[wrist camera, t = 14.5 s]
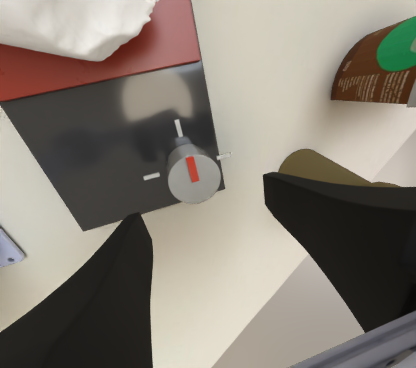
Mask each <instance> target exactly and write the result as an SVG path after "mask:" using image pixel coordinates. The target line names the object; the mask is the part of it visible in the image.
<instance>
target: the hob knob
mask: <svg viewBox="0 0 416 368" xmlns="http://www.w3.org/2000/svg"><path fill="white" fill-rule="evenodd" d="M166 169H167V177H168V185H169V189H170V191H171V193H172V194H173V195H174V196H175V197H176V198H177V199H178V200H180V201H182V202H185V203H189V204H196V203H201V202H204V201H206V200H208V199H209V198H211V197H212V196H213V195H214V194H215V192H216V191H217V189H218V187H219V185H220V181H221V174H220V170H219V167H218V166H217V164H216V163H215V162H214V161H213V159H212V158H211V157H210V156H209V155H208V154H207V153H206V152H205V150H203V149H202V148H201V147H199V146H197V145H193V144H185V145H181V146H179V147H177V148H175V149H174V150H173V151H172V152H171V153H170V155H169V157H168V159H167V163H166Z"/></svg>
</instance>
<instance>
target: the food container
mask: <svg viewBox="0 0 416 368" xmlns="http://www.w3.org/2000/svg"><path fill="white" fill-rule="evenodd" d="M331 100H342V101H360V102H378V103H396V104H407V107H416V16H415V17H412V18H410V19H407V20H404V21H402V22H399V23H397V24H394V25H391V26H389V27H386V28H384V29H381V30H378V31H376V32H373V33H371V34H369V35H367V36H365V37H364V38H362V39H361V40H360V41H359V42H358V43H356V44H355V45H354V47H353V48H352V49H351V50H350V51H349V53H348V54H347V55H346V57H345V58H344V60H343V62H342V63H341V65H340V67H339V69H338V72H337V74H336V77H335V80H334V83H333V88H332V94H331Z"/></svg>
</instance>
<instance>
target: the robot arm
mask: <svg viewBox="0 0 416 368" xmlns="http://www.w3.org/2000/svg"><path fill="white" fill-rule="evenodd" d="M263 183H264V197H265V205H266V206H267V208H268V209H269V210H270V212H271V213H272V214H273V216H274V217H275V218H276V219H277V220H278V221H279V222H280V223H281V224H282V225H283V227H284V228H285V229H286V230H287V231H288V232H289V233H290V234H291V235H292V236H293V237H294V238H295V239H296V240H297V241H298V242H299V243H300V244H301V245H302V246H303V247H304V248H305V250H306V251H307V252H308V253H309V254H310V256H311V257H312V258H313V259H314V261H315V262H316V263H317V264H318V266H319V267H320V268H321V270H322V271H323V272H324V273H325V275H326V276H327V278H328V279H329V280H330V282H331V283H332V285H333V286H334V287H335V289H336V290H337V292H338V293H339V294H340V296H341V297H342V299H343V300H344V301H345V303H346V304H347V306H348V307H349V309H350V310H351V312H352V313H353V315H354V317H355V318H356V319H357V321H358V323H359V324H360V326H361V327H362V328H363V330H364V332H365V334H363V335H360V336H358V337H356V338H353V339H351V340H349V341H347V342H345V343H342V344H340V345H338V346H336V347H333V348H331V349H329V350H326V351H324V352H322V353H320V354H317V355H316V356H313V357H311V358H308V359H306V360H304V361H302V362H299V363H297V364H295V365H293V366H290V367H288V368H391V367H392V368H416V187H372V186H355V185H346V184H337V183H329V182H323V181H317V180H312V179H307V178H302V177H298V176H293V175H288V174H283V173H278V172H271V173H267V174H264V175H263ZM24 257H25V255H24V253H23V252H22V251H21V250H20V249H19V248H18V247H17V246H16V245H15V244H14V242H13V241H12V240H11V239H10V238H9V237H8V236H7V235H6V234H5V233H4V231H3V230H2V229H1V228H0V267H4V266H7V265H10V264H13V263H17V262H20V261H22V260H23V259H24ZM12 258H13V259H12ZM152 269H153V245H152V239H151V237H150V234H149V232H148V230H147V228H146V225H145V223H144V221H143V219H142V217H141V214H140V212H137V213H133V214H130V215H127V216H126V218H125V219H124V220H123V221H122V222H121V223H120V225H119V226H118V227H117V228H116V229H115V231H114V232H113V233H112V234H111V235H110V237H109V238H108V239H107V240H106V241H105V242H104V244H103V245H102V246H101V247H100V248H99V249H98V250H97V251H96V252H95V253H94V255H93V256H92V257H91V258H90V259H89V260H88V261H87V262H86V263H85V264H84V265H83V266H82V267H81V268H80V269H79V270H78V271H77V272H76V273H74V274H73V275H72V276H71V277H70V278H69V279H68V280H67V281H66V282H64V283H63V284H62V285H61V286H60V287H58V288H57V289H56V290H55V291H54V292H53V293H51V294H50V295H49V296H48V297H47V298H45V299H44V300H43V301H42V302H40V303H39V304H38V305H37V306H35V307H34V308H33V309H31V310H30V311H29V312H28V313H26V314H25V315H24V316H22V317H21V318H20V319H18V320H17V321H15V322H14V323H13V324H11V325H10V326H9V327H7V328H6V329H5V330H3V331H2V332H0V368H153V362H152V344H151V320H150V296H151V283H152ZM395 365H396V366H395ZM393 366H394V367H393Z"/></svg>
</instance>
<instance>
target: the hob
mask: <svg viewBox="0 0 416 368" xmlns="http://www.w3.org/2000/svg"><path fill="white" fill-rule="evenodd" d="M190 2H191V0H190ZM191 7H192V2H191ZM192 13H193V8H192ZM193 18H194V13H193ZM194 24H195V19H194ZM195 29H196V25H195ZM196 35H197V30H196ZM197 40H198V36H197ZM198 46H199V41H198ZM199 51H200V47H199ZM200 57H201V52H200ZM0 105H1V107H2V108H3V110H4V111H5V113H6V114H7V116H8V117H9V119H10V120H11V122H12V124H13V125H14V127H15V128H16V130H17V131H18V133H19V134H20V136H21V137H22V139H23V140H24V142H25V143H26V145H27V146H28V148H29V149H30V151H31V153H32V154H33V156H34V157H35V159H36V160H37V162H38V163H39V165H40V166H41V168H42V169H43V171H44V172H45V174H46V175H47V177H48V178H49V180H50V182H51V183H52V185H53V186H54V188H55V189H56V191H57V192H58V194H59V195H60V197H61V198H62V200H63V201H64V203H65V204H66V206H67V207H68V209H69V211H70V212H71V214H72V215H73V217H74V218H75V220H76V221H77V223H78V224H79V226H80V227H81V229H82V230H83V231H87V230H90V229H94V228H97V227H100V226H104V225H107V224H110V223H114V222H117V221H120V220H123V219H125V218H126V216H127V215H130V214H133V213H137V212H140V214H143V213H147V212H150V211H153V210H157V209H160V208H163V207H167V206H170V205H173V204H177V203H180V202H182V201H180V200H178V199H177V198H176V197H175V196H174V195H173V194H172V193H171V191H170V189H169V185H168V177H167V169H166V163H167V159H168V157H169V155H170V153H171V152H172V151H173V150H174V149H175V148H177V147H179V146H181V145H185V144H193V145H197V146H199V147H201V148H202V149H203V150H205V152H206V153H207V154H208V155H209V156H210V157H211V158H212V159H213V161H214V162H215V163H216V164H217V166H218V167H219V170H220V174H221V181H220V185H219V187H218V189H217V191H220V190H223V189H225V185H224V180H223V174H222V169H221V163H220V159H223V158H227V157H230V156H231V152H230V153H226V154H222V155H219V152H218V146H217V141H216V135H215V130H214V124H213V119H212V113H211V108H210V102H209V97H208V91H207V85H206V80H205V74H204V69H203V63H202V58H201V60H200V61H199V62H194V63H189V64H184V65H180V66H175V67H170V68H165V69H160V70H155V71H151V72H146V73H141V74H136V75H131V76H126V77H122V78H117V79H112V80H107V81H102V82H97V83H93V84H88V85H83V86H78V87H73V88H68V89H64V90H59V91H54V92H49V93H44V94H39V95H35V96H30V97H25V98H20V99H15V100H10V101H6V102H0ZM217 191H216V192H217ZM197 204H198V203H197Z"/></svg>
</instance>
